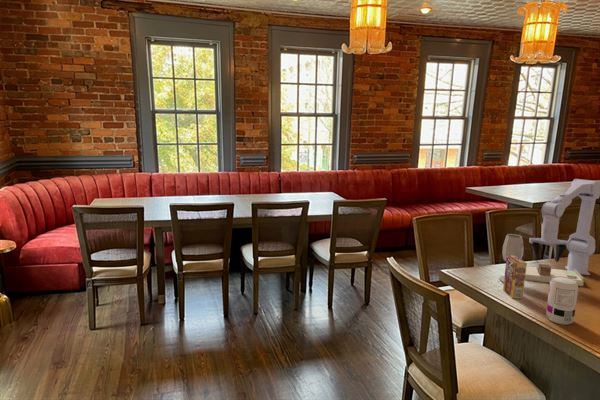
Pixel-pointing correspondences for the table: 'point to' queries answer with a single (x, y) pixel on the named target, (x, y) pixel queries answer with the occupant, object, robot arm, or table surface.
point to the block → (544, 270)
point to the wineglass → (512, 248)
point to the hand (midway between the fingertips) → (546, 260)
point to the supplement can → (562, 300)
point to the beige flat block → (553, 275)
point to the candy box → (514, 277)
